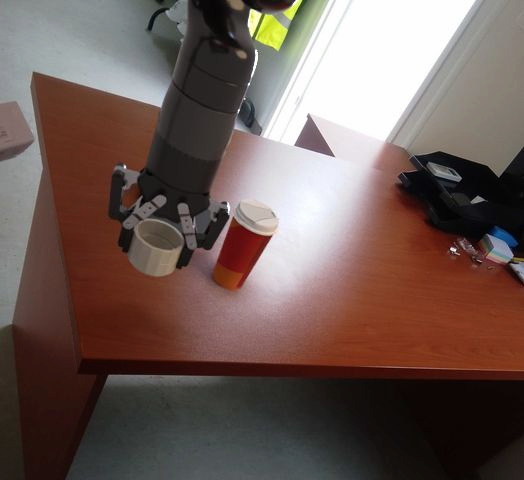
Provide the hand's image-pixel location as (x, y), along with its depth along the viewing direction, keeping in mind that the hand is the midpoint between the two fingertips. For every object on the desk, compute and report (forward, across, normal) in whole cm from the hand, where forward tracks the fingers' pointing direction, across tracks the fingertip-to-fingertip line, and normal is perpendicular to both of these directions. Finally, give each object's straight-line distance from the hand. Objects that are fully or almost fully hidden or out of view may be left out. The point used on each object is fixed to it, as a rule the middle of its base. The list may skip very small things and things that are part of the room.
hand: (152, 257), depth 59 cm
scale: (+10, +4, +29) cm, 31 cm away
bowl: (+1, 0, 0) cm, 1 cm away
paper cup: (+10, +14, +14) cm, 22 cm away
